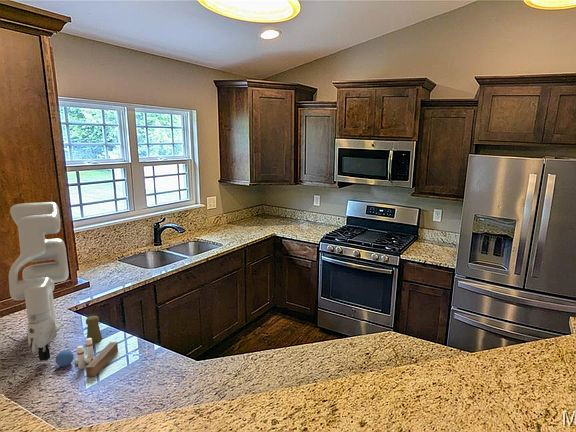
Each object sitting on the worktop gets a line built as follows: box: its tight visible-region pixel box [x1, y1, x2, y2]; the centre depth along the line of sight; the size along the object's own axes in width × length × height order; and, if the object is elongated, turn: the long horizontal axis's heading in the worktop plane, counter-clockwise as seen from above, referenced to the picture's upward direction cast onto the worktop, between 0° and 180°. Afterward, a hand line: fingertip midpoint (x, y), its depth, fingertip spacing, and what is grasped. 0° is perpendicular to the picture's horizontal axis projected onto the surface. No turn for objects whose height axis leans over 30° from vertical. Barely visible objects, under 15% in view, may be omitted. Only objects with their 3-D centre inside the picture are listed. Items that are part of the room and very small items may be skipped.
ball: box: [55, 349, 75, 367], centre depth 141 cm, size 6×6×6 cm
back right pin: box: [76, 345, 86, 370], centre depth 140 cm, size 2×2×8 cm
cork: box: [85, 315, 103, 345], centre depth 160 cm, size 6×6×11 cm
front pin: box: [74, 356, 96, 365], centre depth 143 cm, size 2×2×8 cm
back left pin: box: [85, 337, 95, 358], centre depth 146 cm, size 2×2×8 cm
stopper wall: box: [85, 341, 119, 378], centre depth 143 cm, size 3×18×4 cm, turn 179°
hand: (44, 359), depth 143 cm, fingers closed
